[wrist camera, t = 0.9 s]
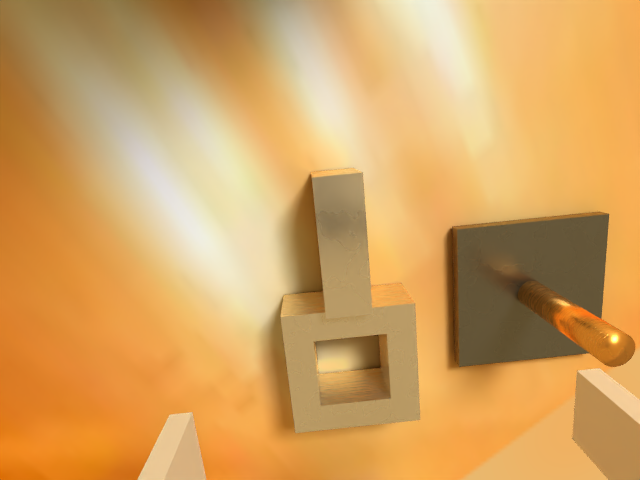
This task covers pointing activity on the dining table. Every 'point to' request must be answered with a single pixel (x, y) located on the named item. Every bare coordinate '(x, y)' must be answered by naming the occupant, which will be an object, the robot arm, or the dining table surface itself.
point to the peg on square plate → (533, 291)
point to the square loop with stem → (349, 322)
